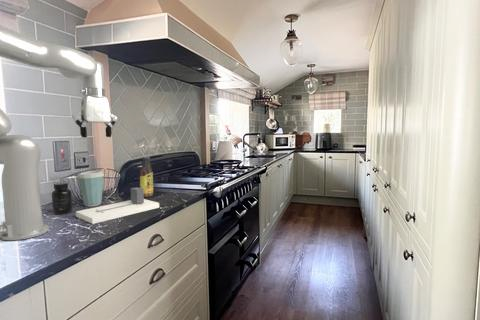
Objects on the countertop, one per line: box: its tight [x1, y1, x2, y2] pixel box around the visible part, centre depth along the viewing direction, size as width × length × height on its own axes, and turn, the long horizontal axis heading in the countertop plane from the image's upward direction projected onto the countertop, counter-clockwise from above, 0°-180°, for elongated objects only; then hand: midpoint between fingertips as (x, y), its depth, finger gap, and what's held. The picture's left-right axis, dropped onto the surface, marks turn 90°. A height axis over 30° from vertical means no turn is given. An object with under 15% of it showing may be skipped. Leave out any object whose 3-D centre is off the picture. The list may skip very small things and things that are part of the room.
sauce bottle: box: [139, 156, 154, 198], centre depth 145 cm, size 6×6×20 cm
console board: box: [75, 198, 160, 225], centre depth 118 cm, size 28×14×2 cm, turn 141°
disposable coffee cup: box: [77, 169, 105, 208], centre depth 128 cm, size 11×11×15 cm
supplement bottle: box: [51, 181, 74, 216], centre depth 117 cm, size 7×7×12 cm
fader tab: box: [130, 186, 145, 204], centre depth 124 cm, size 3×5×6 cm, turn 51°
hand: (96, 137), depth 117 cm, fingers open, 9 cm apart
